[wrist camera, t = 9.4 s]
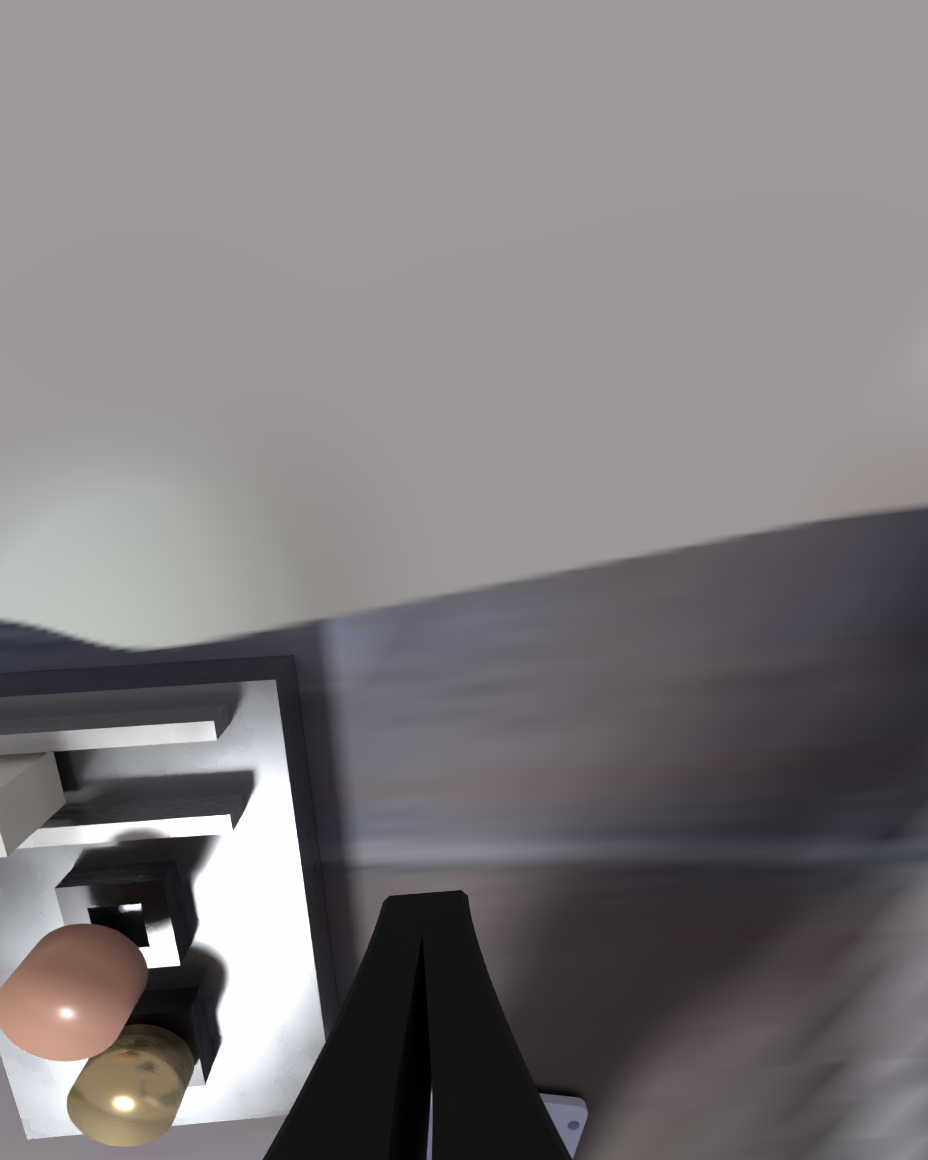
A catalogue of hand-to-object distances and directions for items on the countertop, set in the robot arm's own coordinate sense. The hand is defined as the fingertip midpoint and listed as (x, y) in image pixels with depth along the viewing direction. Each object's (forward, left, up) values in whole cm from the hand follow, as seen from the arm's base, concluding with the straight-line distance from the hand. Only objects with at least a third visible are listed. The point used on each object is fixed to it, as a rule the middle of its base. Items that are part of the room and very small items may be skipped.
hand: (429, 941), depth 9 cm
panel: (-9, +8, -9) cm, 15 cm away
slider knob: (-4, +12, -7) cm, 14 cm away
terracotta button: (-8, +8, -6) cm, 13 cm away
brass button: (-13, +7, -7) cm, 16 cm away
